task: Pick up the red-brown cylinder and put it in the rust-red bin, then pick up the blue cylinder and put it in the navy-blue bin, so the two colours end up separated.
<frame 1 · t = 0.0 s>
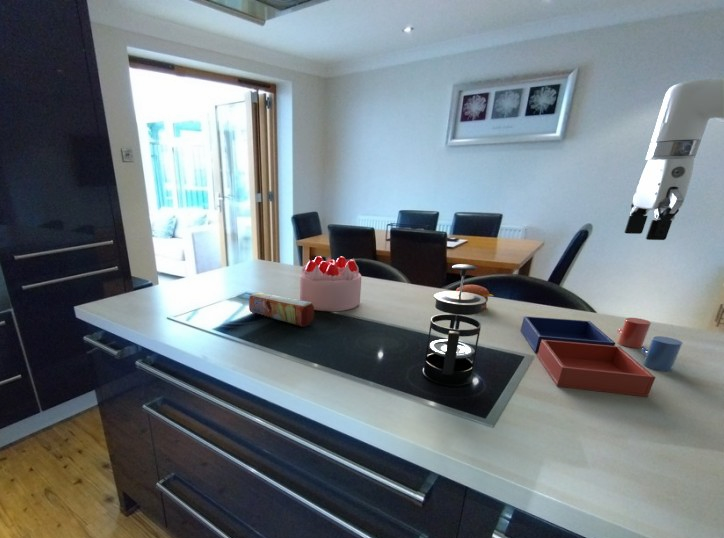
hand: (643, 236, 87), 24 cm above the table, tool pointing down, fingers open, 9 cm apart
snack package: (279, 319, 115), on the table
french press: (446, 378, 80), on the table
red bin: (586, 374, 79), on the table
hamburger: (469, 306, 121), on the table
blue cylinder: (657, 366, 82), on the table
cake: (329, 303, 128), on the table
red-brown cylinder: (629, 344, 92), on the table
blue bin: (561, 344, 93), on the table
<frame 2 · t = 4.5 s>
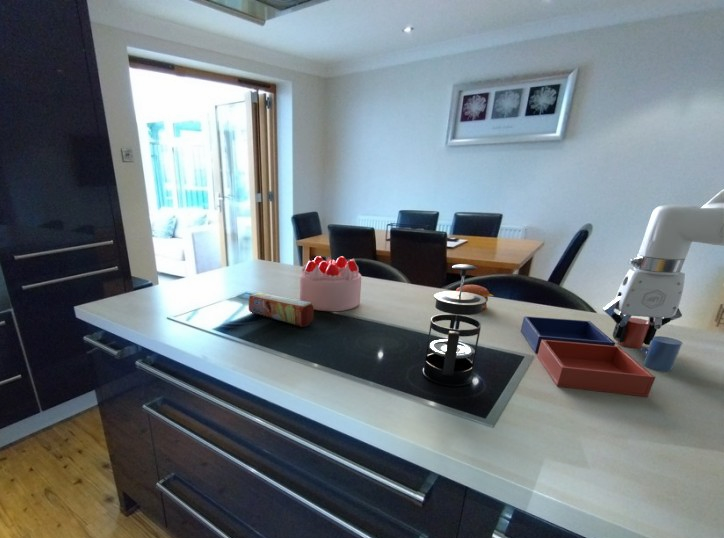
hand: (631, 340, 92), 1 cm above the table, tool pointing down, fingers closed on red-brown cylinder, 4 cm apart
red-brown cylinder: (629, 344, 92), on the table, touching gripper
everything else where it was.
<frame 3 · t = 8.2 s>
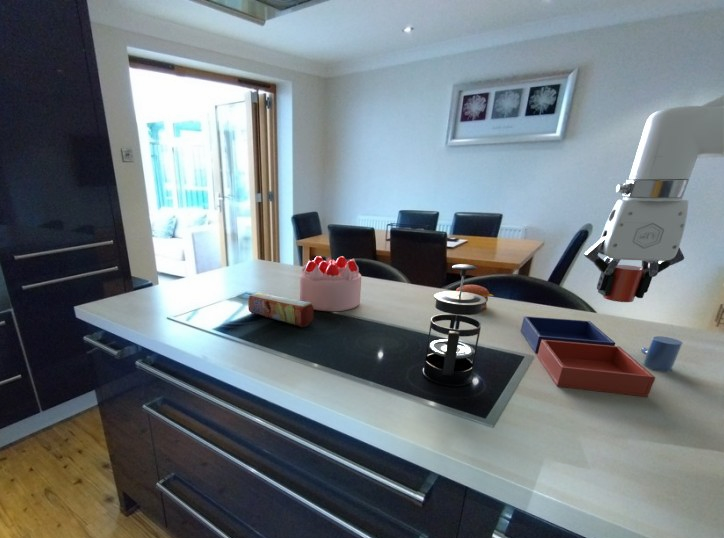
hand: (619, 294, 73), 17 cm above the table, tool pointing down, fingers closed on red-brown cylinder, 4 cm apart
red-brown cylinder: (618, 298, 73), point 16 cm above the table, touching gripper
everything else where it was.
when the fingers open (2 cm above the table, at t = 12.3 s): red-brown cylinder stays where it is, resting on red bin.
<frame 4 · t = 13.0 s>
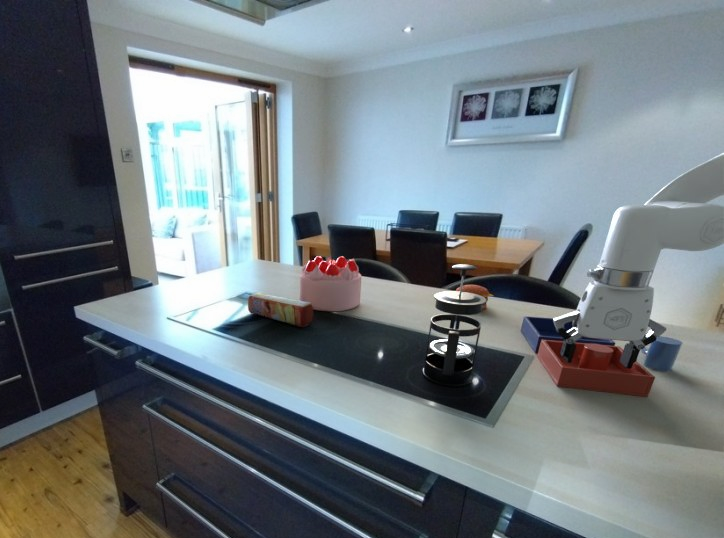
hand: (595, 362, 77), 3 cm above the table, tool pointing down, fingers open, 9 cm apart
red-brown cylinder: (589, 375, 78), point 1 cm above the table, touching red bin
everything else where it was.
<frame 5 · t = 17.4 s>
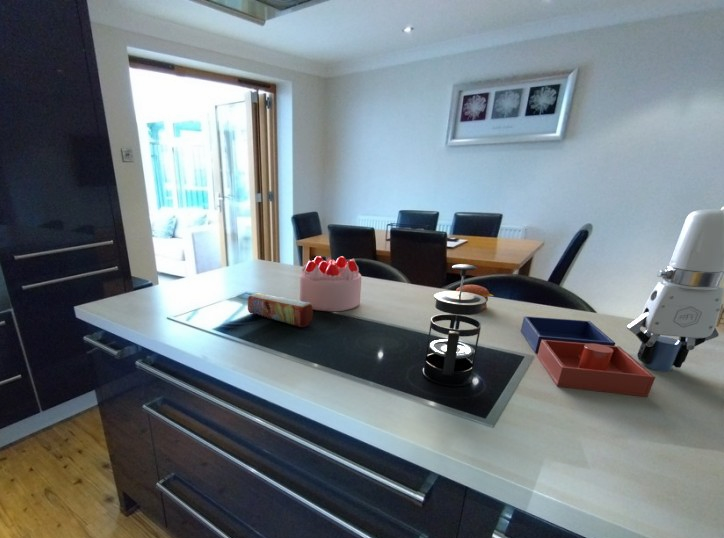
hand: (658, 362, 81), 1 cm above the table, tool pointing down, fingers closed on blue cylinder, 4 cm apart
blue cylinder: (657, 366, 82), on the table, touching gripper
everything else where it was.
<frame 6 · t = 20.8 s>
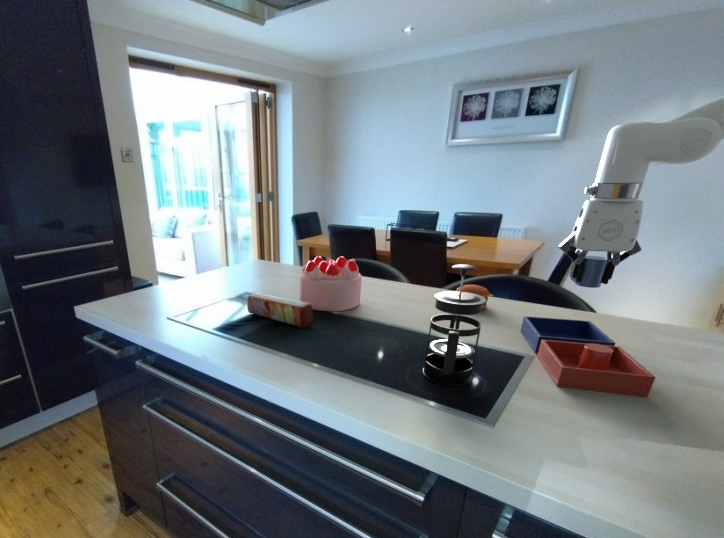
hand: (588, 280, 85), 16 cm above the table, tool pointing down, fingers closed on blue cylinder, 4 cm apart
blue cylinder: (587, 285, 85), point 15 cm above the table, touching gripper
everything else where it was.
when the fingers open (2 cm above the table, at t = 24.6 s): blue cylinder stays where it is, resting on blue bin.
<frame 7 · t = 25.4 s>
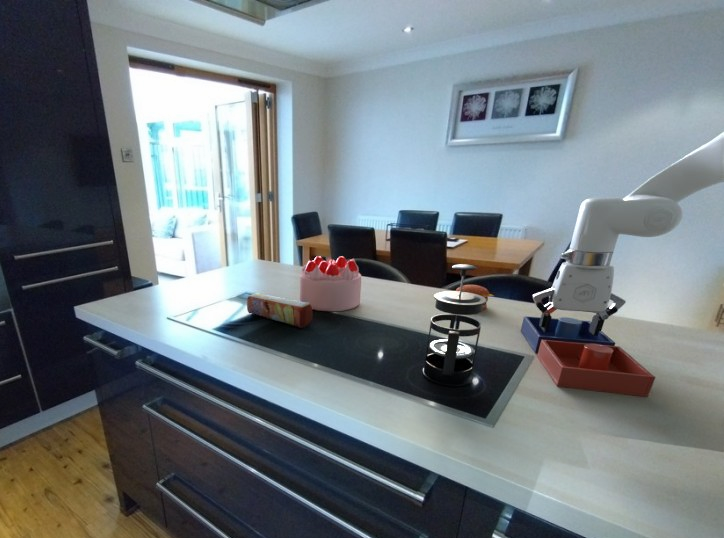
hand: (568, 331, 90), 4 cm above the table, tool pointing down, fingers open, 9 cm apart
blue cylinder: (563, 344, 92), point 1 cm above the table, touching blue bin
everything else where it was.
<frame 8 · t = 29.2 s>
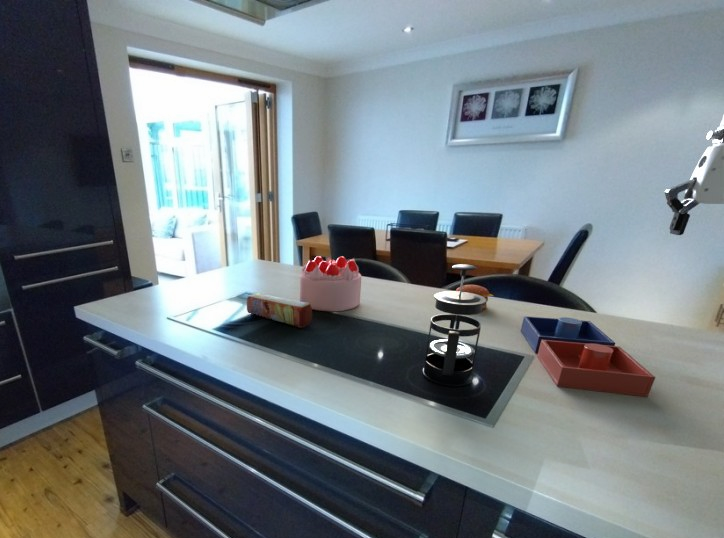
hand: (707, 234, 76), 26 cm above the table, tool pointing down, fingers open, 9 cm apart
nothing on the table moved.
at the end: red-brown cylinder inside the target area in the red bin (1.5 cm from its centre), point 0.6 cm above the red bin's base; blue cylinder inside the target area in the blue bin (1.5 cm from its centre), point 0.6 cm above the blue bin's base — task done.
